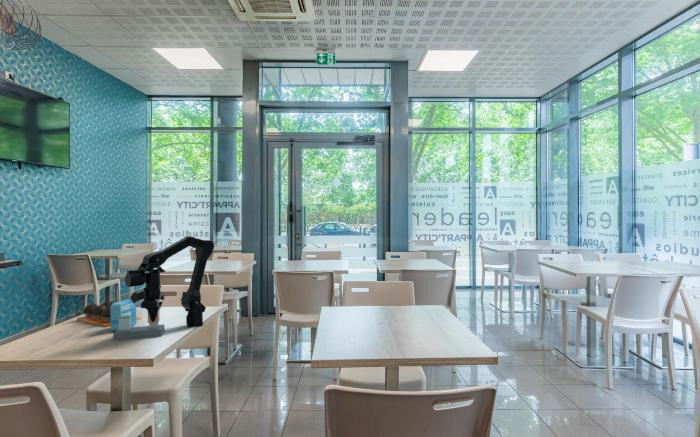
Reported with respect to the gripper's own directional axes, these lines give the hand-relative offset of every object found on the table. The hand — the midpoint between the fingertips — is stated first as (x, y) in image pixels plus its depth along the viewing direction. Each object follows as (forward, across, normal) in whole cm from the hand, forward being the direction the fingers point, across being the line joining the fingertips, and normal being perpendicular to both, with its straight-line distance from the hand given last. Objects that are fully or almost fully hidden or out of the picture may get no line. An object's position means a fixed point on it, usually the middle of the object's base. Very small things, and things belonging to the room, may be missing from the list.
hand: (153, 320), depth 179 cm
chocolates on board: (+7, -38, -27) cm, 47 cm away
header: (+6, 0, -6) cm, 8 cm away
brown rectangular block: (+4, 0, 0) cm, 4 cm away
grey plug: (+6, 0, -11) cm, 12 cm away
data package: (+6, -17, -16) cm, 24 cm away
